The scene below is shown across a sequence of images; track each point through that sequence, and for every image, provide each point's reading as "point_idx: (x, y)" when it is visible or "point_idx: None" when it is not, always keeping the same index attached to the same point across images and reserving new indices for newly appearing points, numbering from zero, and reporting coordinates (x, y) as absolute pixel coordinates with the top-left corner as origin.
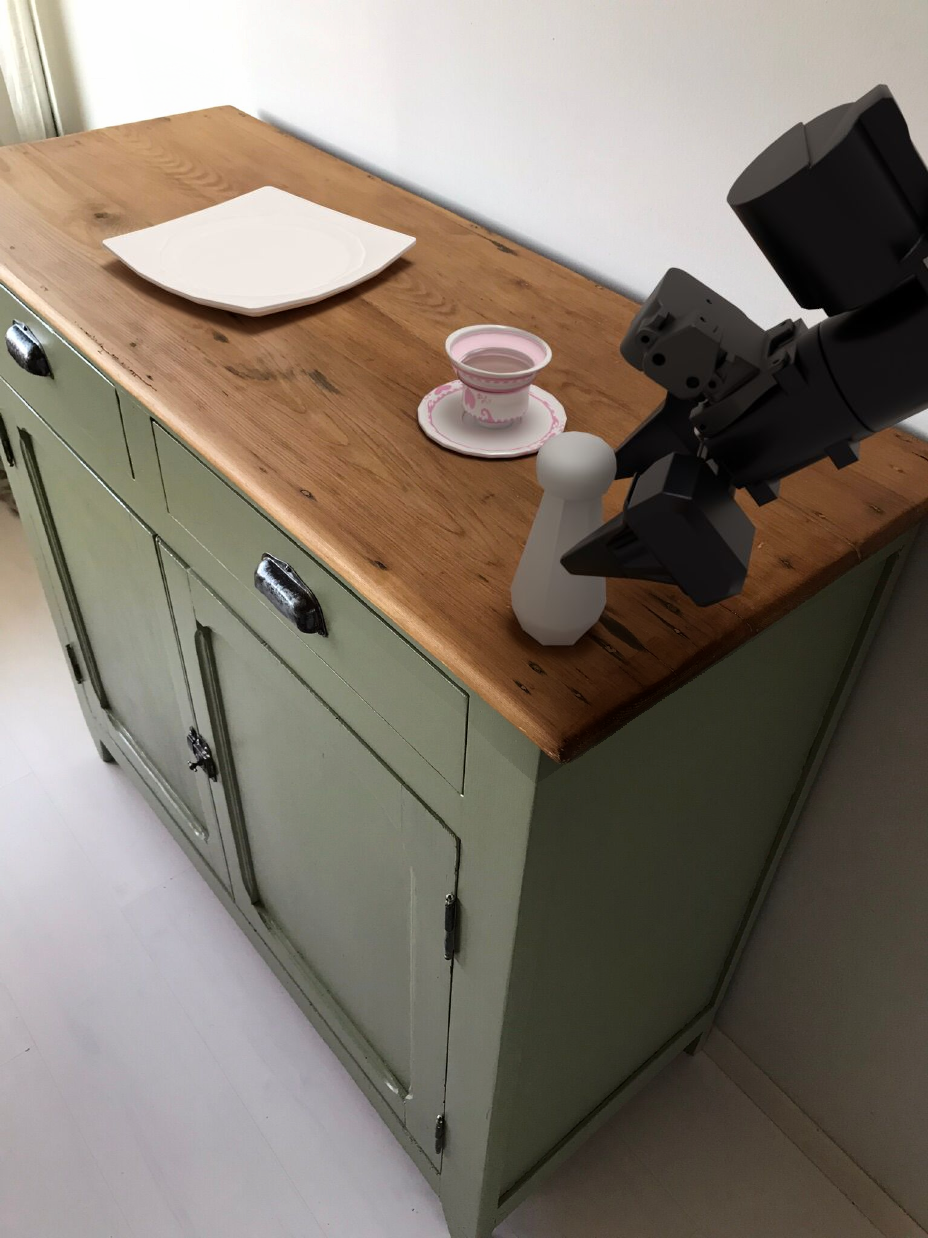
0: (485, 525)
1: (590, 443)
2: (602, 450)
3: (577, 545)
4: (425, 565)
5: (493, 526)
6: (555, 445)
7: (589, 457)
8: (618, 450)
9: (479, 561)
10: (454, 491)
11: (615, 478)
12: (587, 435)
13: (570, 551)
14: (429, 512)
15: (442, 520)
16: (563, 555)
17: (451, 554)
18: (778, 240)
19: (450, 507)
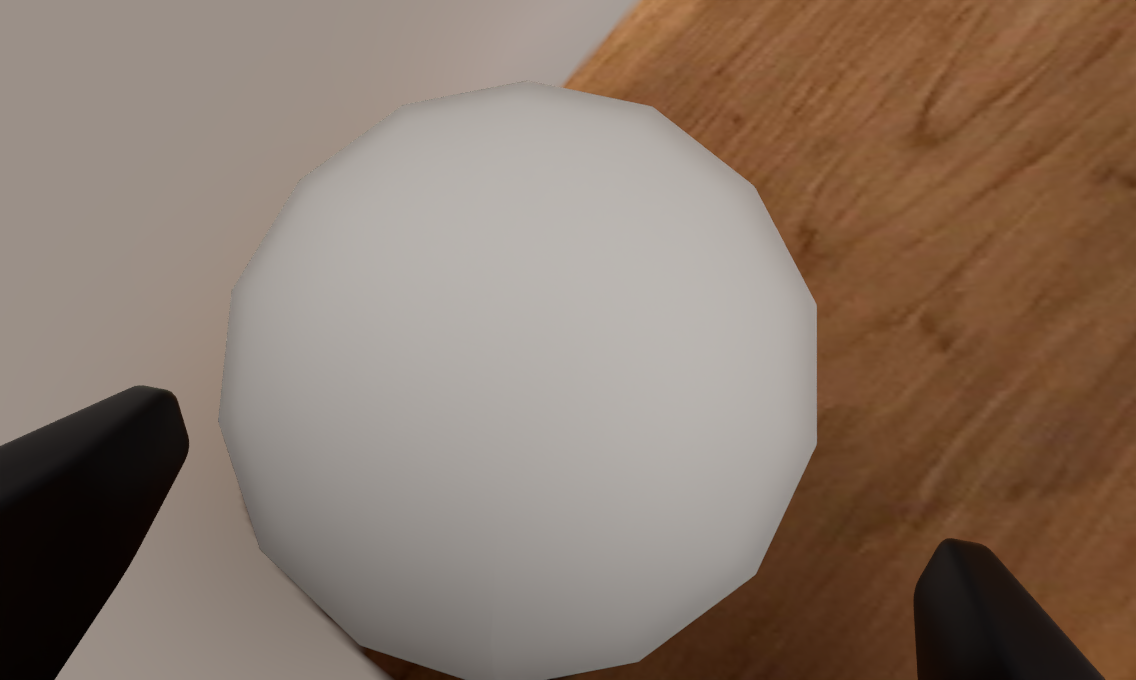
0: (983, 198)
1: (543, 455)
2: (472, 570)
3: (48, 451)
4: (758, 71)
5: (985, 221)
6: (480, 165)
7: (331, 457)
8: (1015, 670)
9: (809, 206)
10: (1131, 83)
11: (919, 633)
12: (692, 422)
13: (79, 422)
14: (1001, 35)
15: (972, 77)
16: (140, 396)
17: (822, 128)
18: None
19: (1044, 87)
